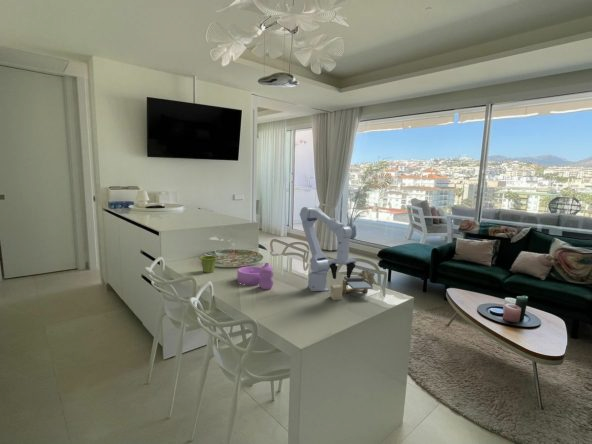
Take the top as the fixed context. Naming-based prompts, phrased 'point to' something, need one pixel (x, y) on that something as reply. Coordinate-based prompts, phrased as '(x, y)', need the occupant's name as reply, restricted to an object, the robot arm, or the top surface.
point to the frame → (353, 289)
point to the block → (336, 292)
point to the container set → (256, 276)
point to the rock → (367, 276)
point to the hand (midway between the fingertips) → (341, 278)
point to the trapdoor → (357, 285)
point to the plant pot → (208, 263)
